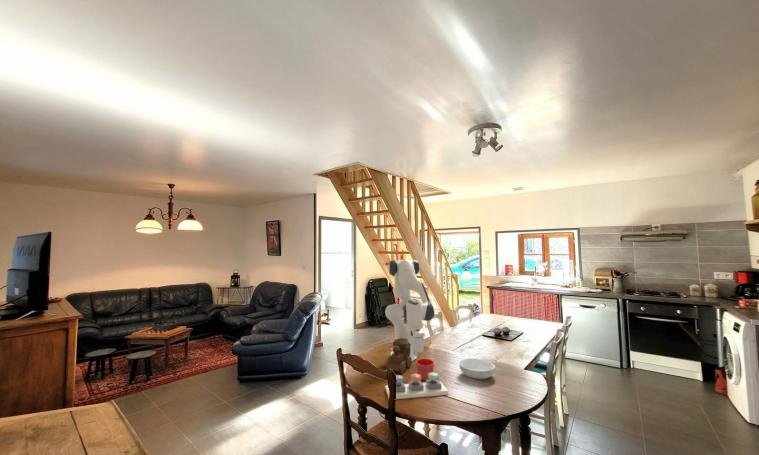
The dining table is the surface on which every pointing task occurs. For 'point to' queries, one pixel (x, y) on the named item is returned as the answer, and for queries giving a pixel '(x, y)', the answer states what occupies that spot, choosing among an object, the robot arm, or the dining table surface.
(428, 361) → the flower pot
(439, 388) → the console
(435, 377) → the sage button
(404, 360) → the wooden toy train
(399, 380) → the slate button
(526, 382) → the dining table surface
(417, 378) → the rust button
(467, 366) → the serving bowl
